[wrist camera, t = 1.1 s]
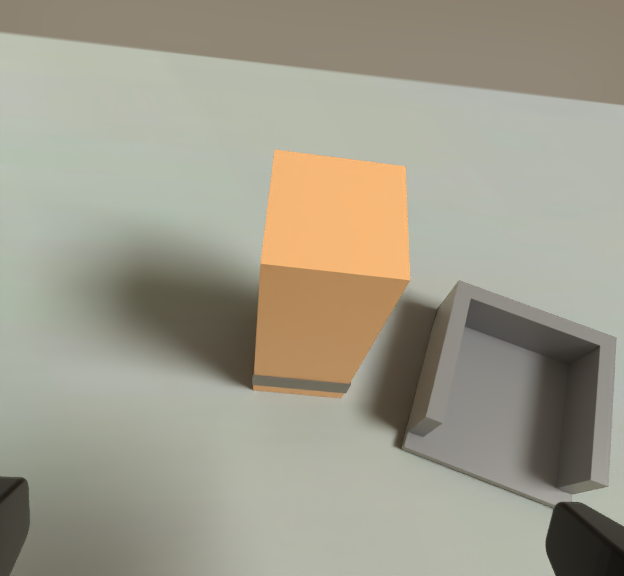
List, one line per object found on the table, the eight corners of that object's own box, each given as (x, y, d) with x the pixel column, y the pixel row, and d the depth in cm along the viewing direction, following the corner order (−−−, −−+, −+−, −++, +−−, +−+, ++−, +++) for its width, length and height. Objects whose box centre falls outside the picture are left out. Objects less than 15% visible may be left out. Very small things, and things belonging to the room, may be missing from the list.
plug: (342, 399, 23) (412, 282, 14) (251, 390, 23) (258, 265, 13) (344, 317, 25) (407, 165, 16) (261, 309, 25) (273, 148, 15)
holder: (564, 512, 22) (607, 505, 19) (401, 448, 23) (421, 433, 20) (578, 360, 26) (616, 337, 23) (437, 309, 26) (459, 280, 23)
